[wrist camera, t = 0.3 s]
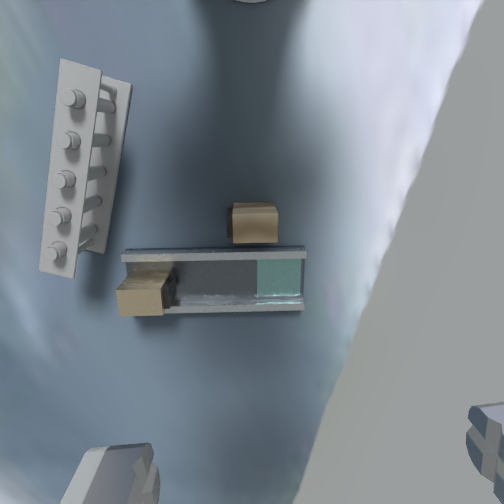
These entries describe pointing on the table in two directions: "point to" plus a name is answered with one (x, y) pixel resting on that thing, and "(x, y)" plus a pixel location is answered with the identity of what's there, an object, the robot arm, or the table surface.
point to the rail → (212, 280)
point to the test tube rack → (82, 165)
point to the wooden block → (252, 223)
